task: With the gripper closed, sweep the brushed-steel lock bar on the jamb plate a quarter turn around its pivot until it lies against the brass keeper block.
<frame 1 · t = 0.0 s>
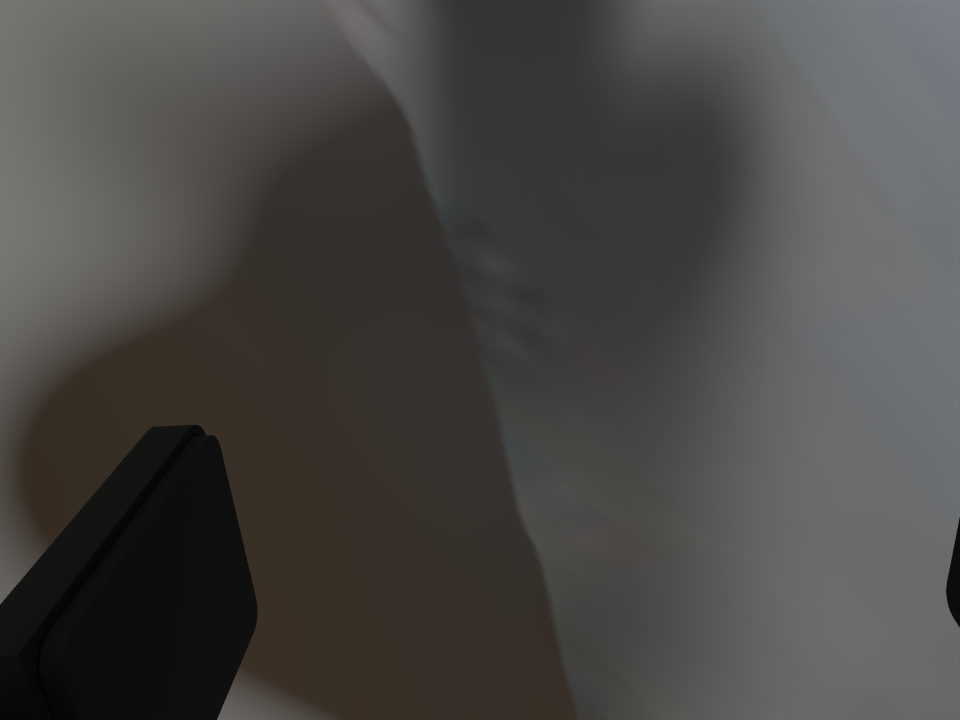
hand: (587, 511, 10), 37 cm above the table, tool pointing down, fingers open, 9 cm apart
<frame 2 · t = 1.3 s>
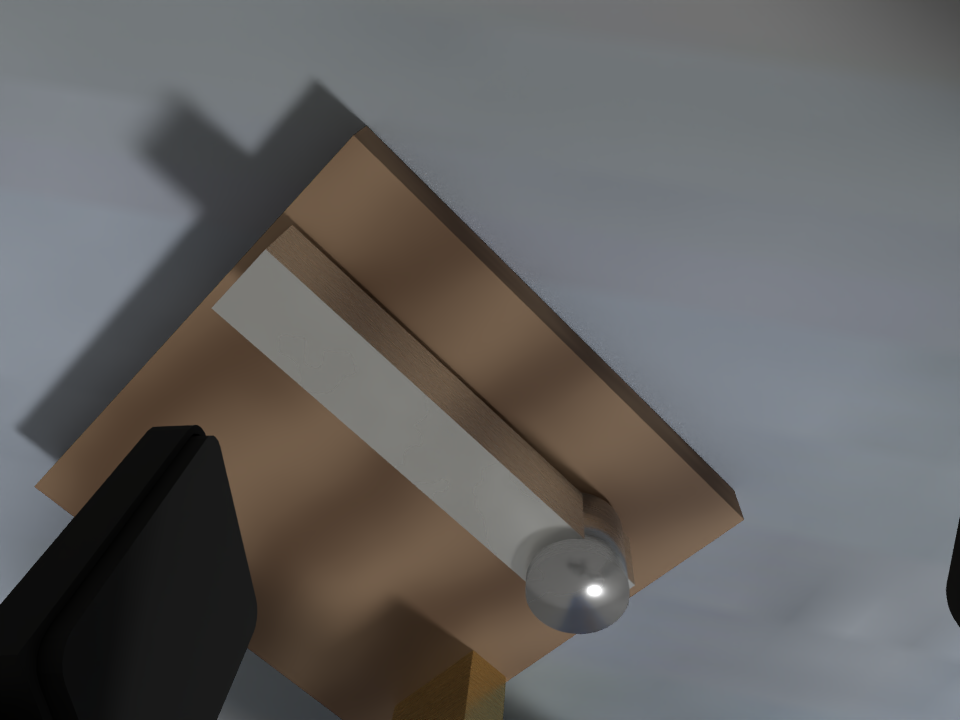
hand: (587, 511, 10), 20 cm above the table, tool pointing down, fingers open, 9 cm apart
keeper: (449, 691, 37), resting on jamb plate
lock bar: (442, 440, 29), point 4 cm above the table, hinge at 0.0°
jamb plate: (386, 475, 34), on the table
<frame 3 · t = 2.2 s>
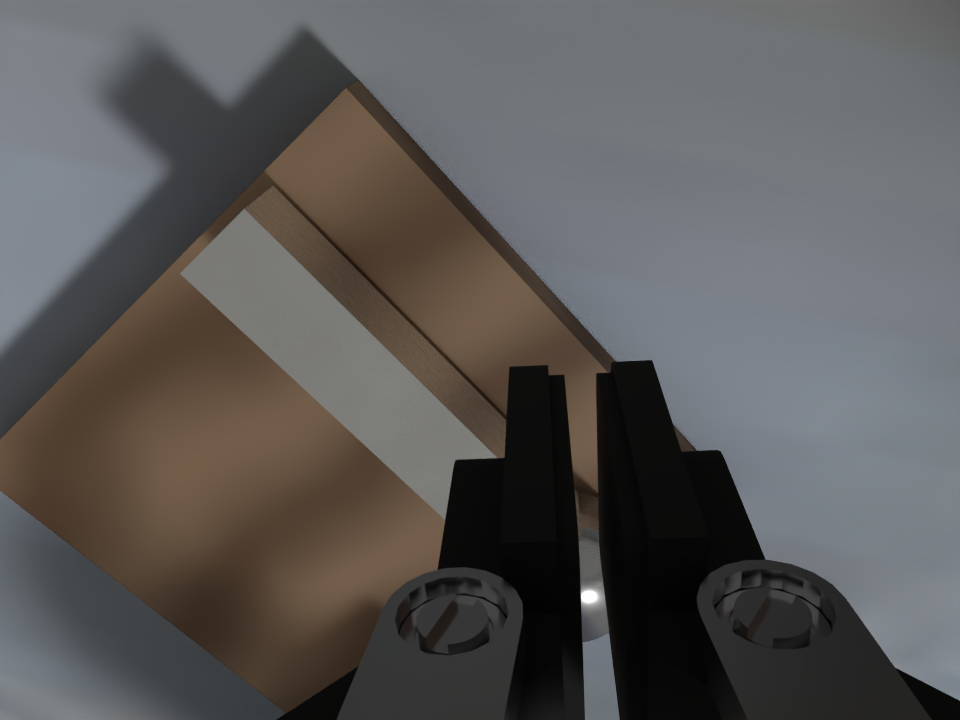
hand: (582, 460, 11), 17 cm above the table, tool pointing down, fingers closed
lock bar: (430, 430, 26), point 4 cm above the table, hinge at 0.0°
jamb plate: (363, 466, 32), on the table
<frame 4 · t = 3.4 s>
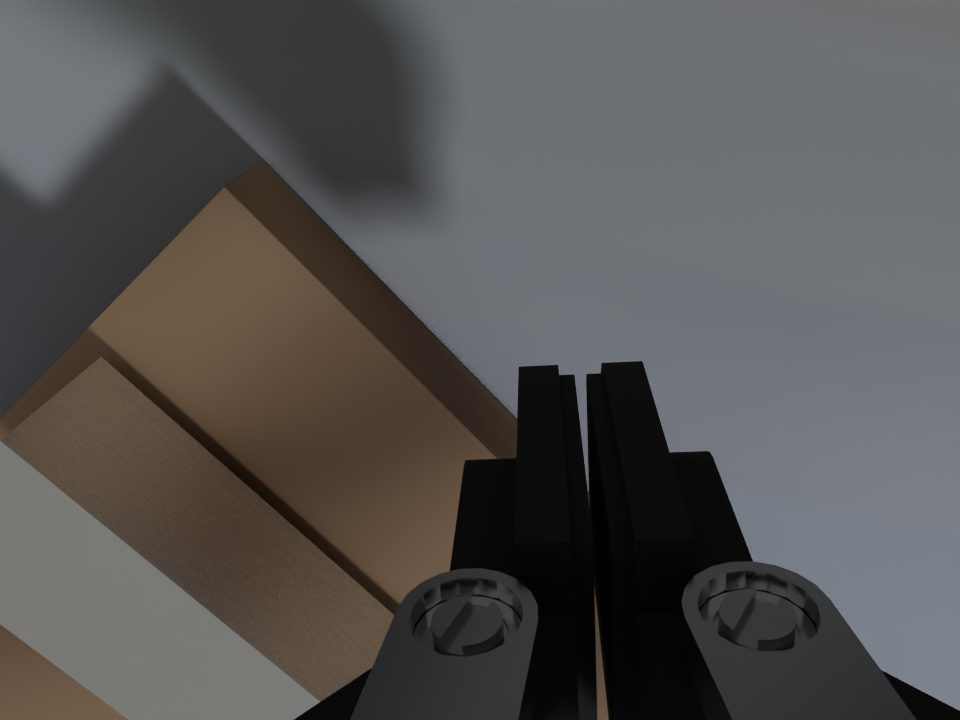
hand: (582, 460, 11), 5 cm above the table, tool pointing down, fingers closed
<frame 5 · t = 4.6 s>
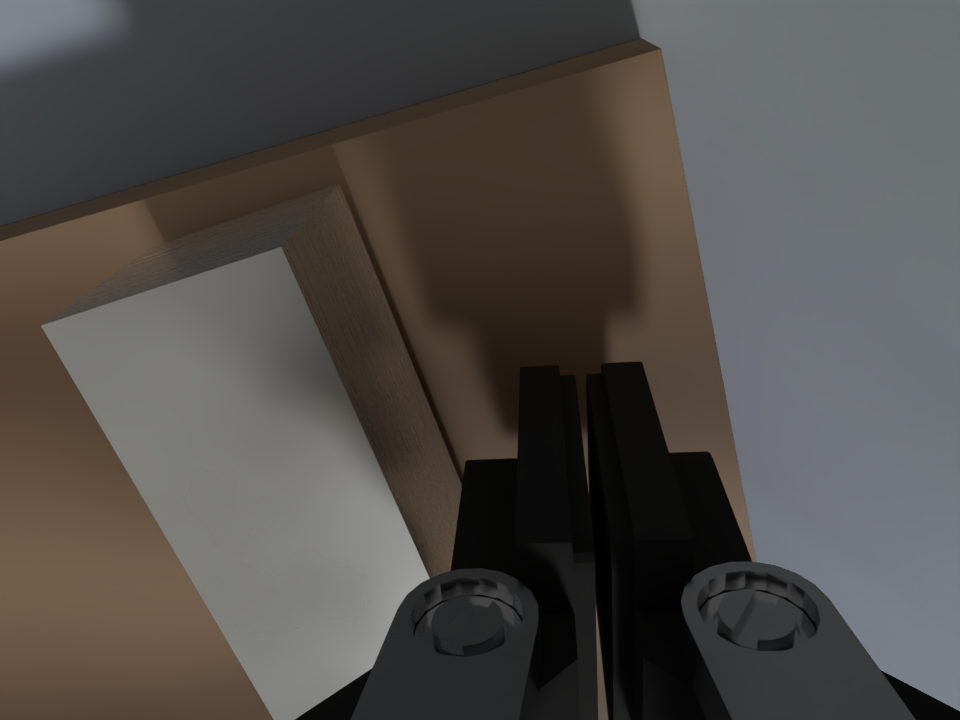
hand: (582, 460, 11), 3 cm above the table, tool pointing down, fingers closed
jamb plate: (267, 662, 18), on the table
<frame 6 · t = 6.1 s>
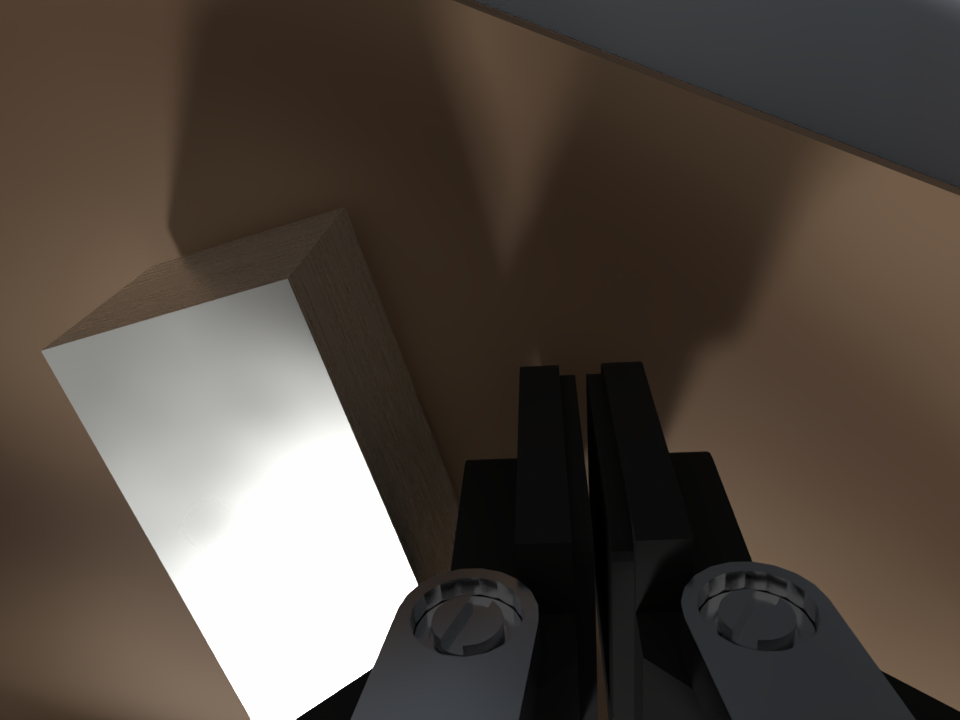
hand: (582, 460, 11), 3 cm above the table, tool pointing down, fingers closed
jamb plate: (426, 577, 16), on the table
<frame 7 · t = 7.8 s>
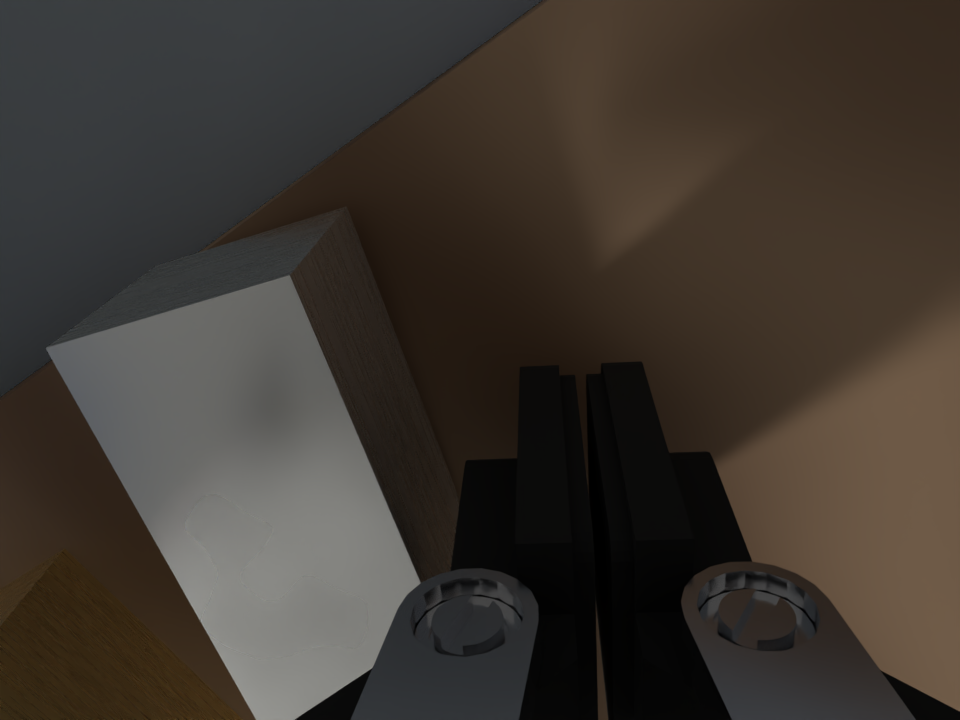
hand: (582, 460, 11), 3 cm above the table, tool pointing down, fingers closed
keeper: (127, 669, 15), resting on jamb plate
jamb plate: (682, 577, 16), on the table
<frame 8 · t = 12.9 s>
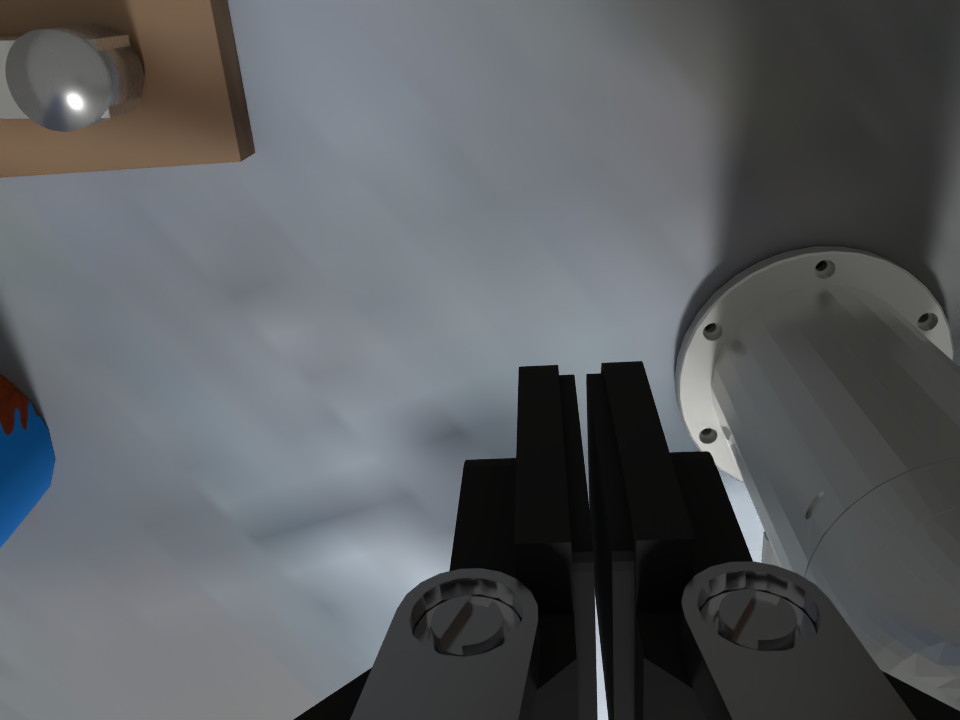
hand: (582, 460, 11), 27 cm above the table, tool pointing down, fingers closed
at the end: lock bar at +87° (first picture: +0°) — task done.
